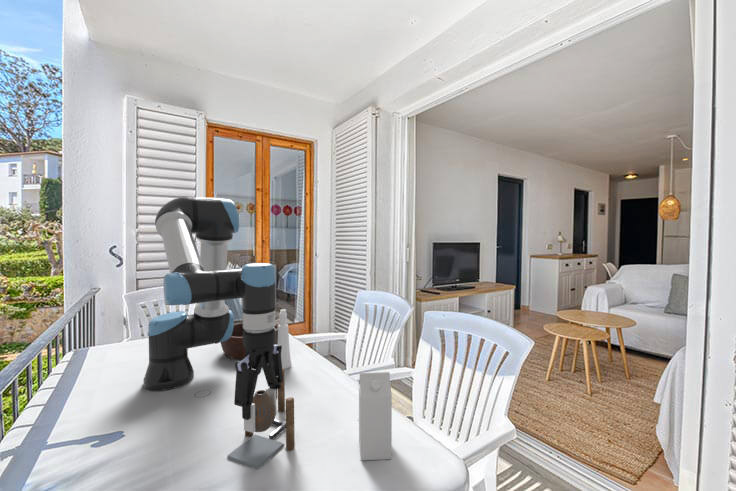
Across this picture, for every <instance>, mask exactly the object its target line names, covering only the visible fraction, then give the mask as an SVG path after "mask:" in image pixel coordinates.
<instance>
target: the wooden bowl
mask: <svg viewBox="0 0 736 491" xmlns="http://www.w3.org/2000/svg"><path fill="white" fill-rule="evenodd" d="M278 325H279V323H277V322H276V325H275V326H274V328H275V329H276V343H275V345H278ZM243 331H244V329H243V321H242V322H237V323H234V326H233V332H232V335H231V337H230V338H229V339H228V340H227V341H224V342H220V345H221V346H220V347H221V349H222V351H223V353H224V354H225V356H226V357H227V358H229V359H232V360H237V361H242V360H243V359H244V358H245V354H246V349H245V347H244V345H243Z"/></svg>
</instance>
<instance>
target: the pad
mask: <svg viewBox="0 0 736 491" xmlns="http://www.w3.org/2000/svg"><path fill="white" fill-rule="evenodd" d="M283 447H284V443H283V442H281V441H277V440H274V439H273V440H272V439H269V437H265V436H261V435H259V434H253V435H252V436H250V437H249V438H248V439H247V440H246V441H244V442H243V443H242V444H240V445H239V446H238V447H236V448H235V449H234V450H233V451H231V452H230V453H229V454H227V456H226V457H227V459H229V460H232V461H234V462H237V463H239V464H243V465H245V466H248V467H250V468H253V469H256V470H259V469H260V468H261V467H262V466H263V465H264V464H265V463H266V462H267V461H268V460H270V459H271V458H272V456H274V455H275V454H277V452H279V451H280V450H281V449H282V448H283Z"/></svg>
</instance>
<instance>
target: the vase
mask: <svg viewBox="0 0 736 491" xmlns="http://www.w3.org/2000/svg"><path fill="white" fill-rule="evenodd" d="M252 403H254V404H255V432H254V433H262V432H263V433H264V432H266V431H267V430H269V429H270V428H271V427H272V424H273V422H274V419H276V416H277V415H276V408H275V404H274V402H273V400H272V399H271V398H270V397H269V396H268V395H267V393H266V389H259V390H257V391H255V392H254V397H253V401H252ZM275 415H276V416H275Z"/></svg>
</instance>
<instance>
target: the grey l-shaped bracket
mask: <svg viewBox="0 0 736 491" xmlns="http://www.w3.org/2000/svg"><path fill="white" fill-rule="evenodd" d="M272 425H273V426H276V429H275V430H273V431H272V432H271V433H269V435H268V439H272V440H274V439H275V438H276V437H277V436H279V435H280V434H281V433H283V431H284V430H285V431H286V421H284V420H281V419H277V418H275V419H274V422H273V424H272ZM272 425H271V426H272Z"/></svg>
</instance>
